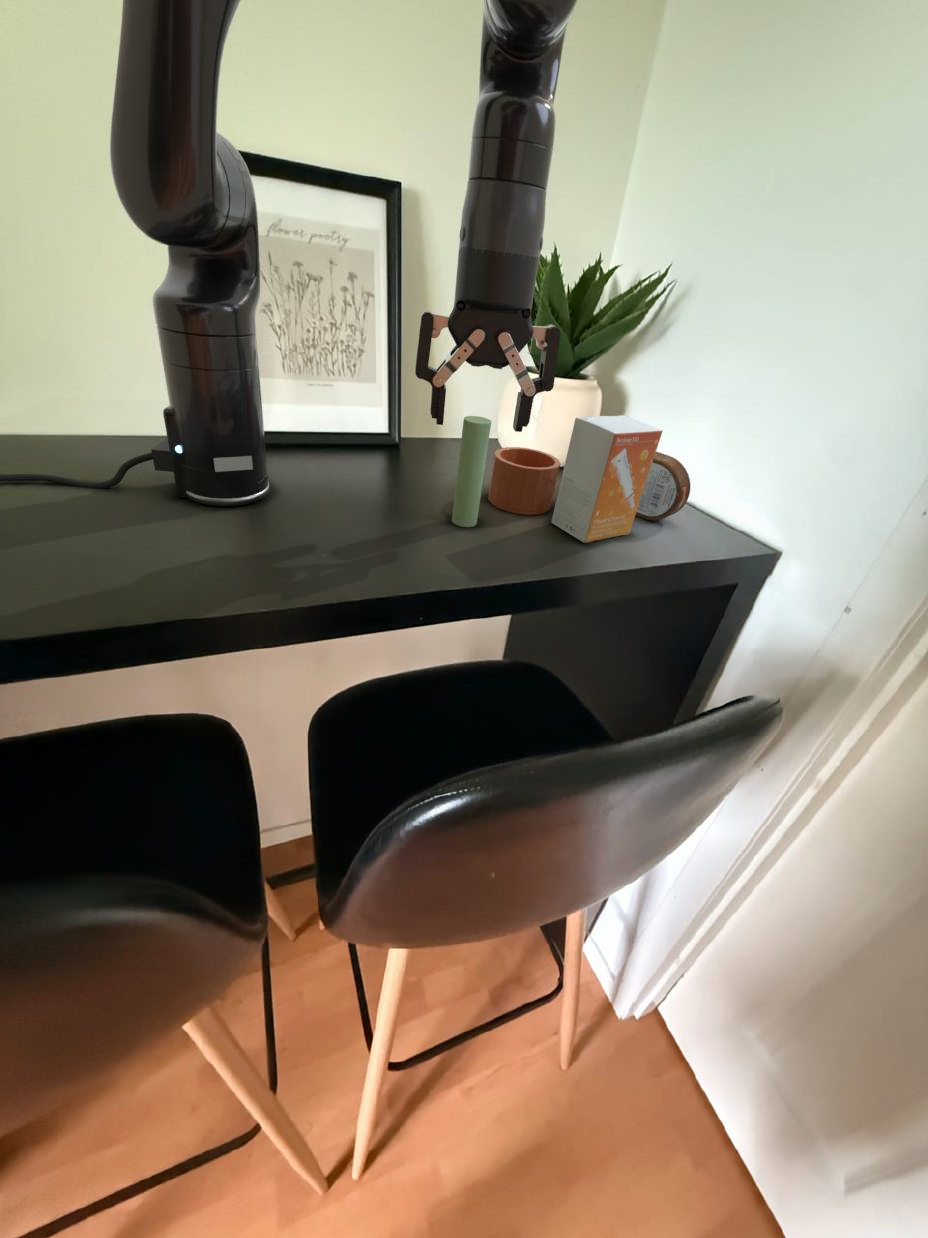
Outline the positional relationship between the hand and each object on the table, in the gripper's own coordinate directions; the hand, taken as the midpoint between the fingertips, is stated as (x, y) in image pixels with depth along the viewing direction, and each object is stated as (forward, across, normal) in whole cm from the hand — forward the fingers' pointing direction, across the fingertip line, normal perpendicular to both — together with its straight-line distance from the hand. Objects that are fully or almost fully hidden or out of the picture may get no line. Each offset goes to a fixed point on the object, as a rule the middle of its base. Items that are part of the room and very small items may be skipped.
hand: (478, 426), depth 60 cm
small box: (+12, -16, -1) cm, 20 cm away
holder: (+11, -8, -8) cm, 16 cm away
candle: (+11, 0, 0) cm, 11 cm away
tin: (+12, -23, -9) cm, 27 cm away
